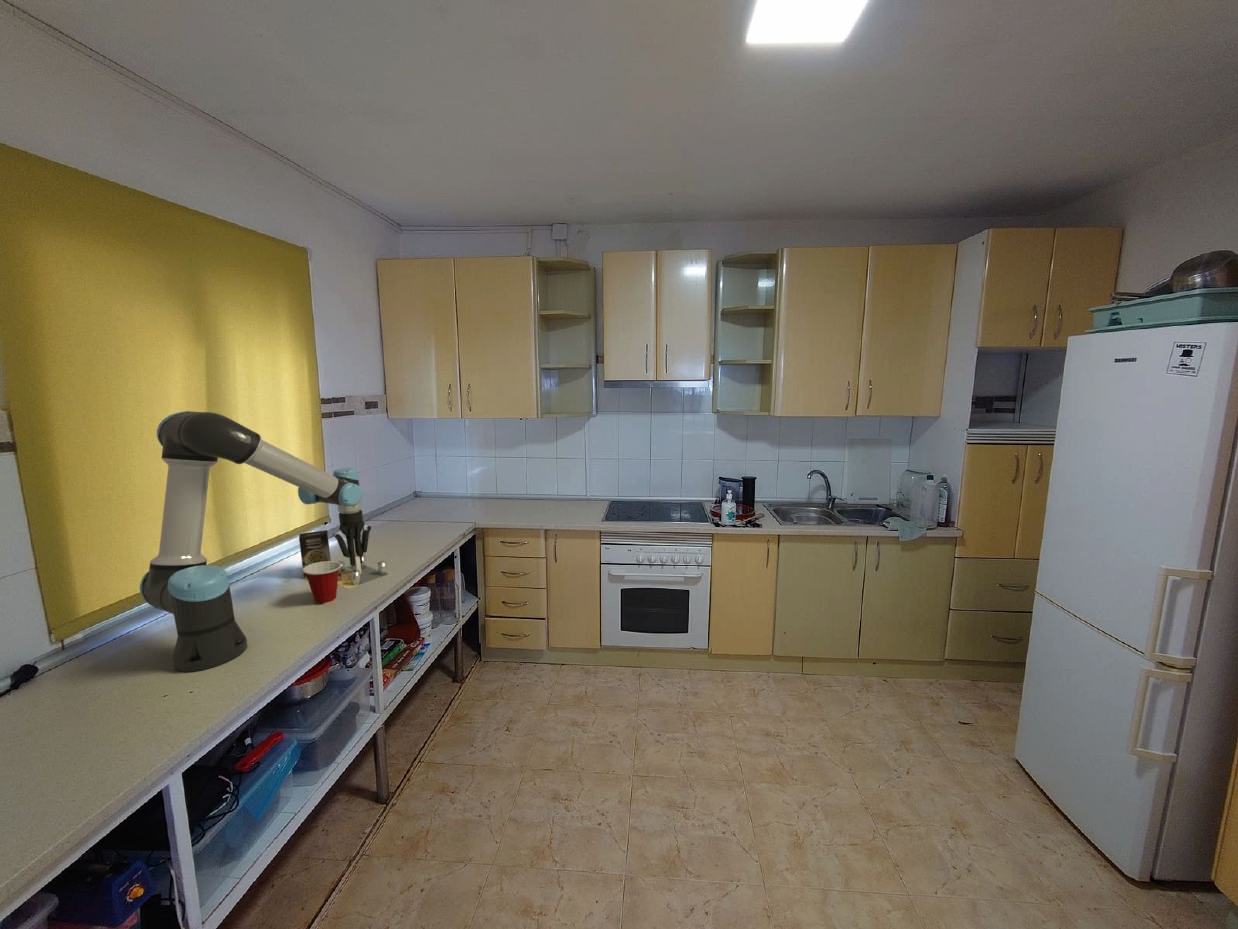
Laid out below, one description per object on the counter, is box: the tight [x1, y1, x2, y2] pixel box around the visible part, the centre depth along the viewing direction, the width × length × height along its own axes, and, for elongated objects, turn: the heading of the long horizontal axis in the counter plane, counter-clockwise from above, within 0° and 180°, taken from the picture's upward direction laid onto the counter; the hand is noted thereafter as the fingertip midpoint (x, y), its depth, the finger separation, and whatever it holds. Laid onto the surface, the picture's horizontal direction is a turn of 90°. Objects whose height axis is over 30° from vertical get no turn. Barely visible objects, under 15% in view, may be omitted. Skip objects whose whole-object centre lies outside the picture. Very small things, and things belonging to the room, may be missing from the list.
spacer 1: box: [337, 560, 346, 576], centre depth 182 cm, size 3×3×5 cm
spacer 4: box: [377, 560, 388, 577], centre depth 181 cm, size 3×3×5 cm
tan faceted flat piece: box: [341, 569, 354, 581], centre depth 178 cm, size 5×4×2 cm
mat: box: [337, 565, 389, 590], centre depth 180 cm, size 15×17×1 cm
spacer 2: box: [351, 570, 362, 586], centre depth 173 cm, size 3×3×5 cm
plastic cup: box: [302, 560, 341, 605], centre depth 160 cm, size 11×11×12 cm
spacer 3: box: [361, 554, 367, 569], centre depth 188 cm, size 3×3×5 cm
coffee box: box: [298, 529, 332, 580], centre depth 182 cm, size 9×6×16 cm
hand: (357, 573), depth 180 cm, fingers closed
